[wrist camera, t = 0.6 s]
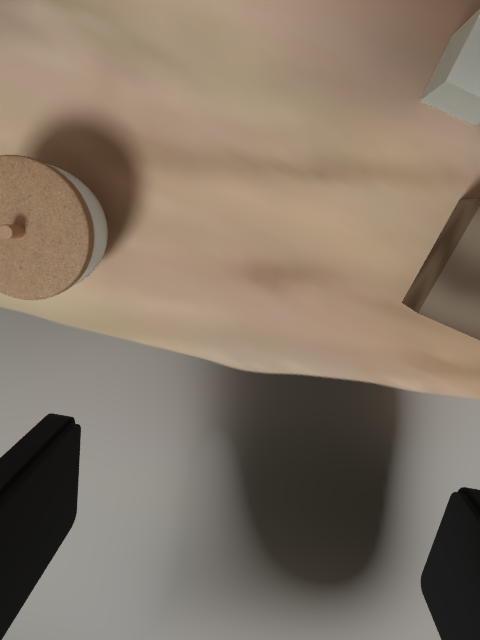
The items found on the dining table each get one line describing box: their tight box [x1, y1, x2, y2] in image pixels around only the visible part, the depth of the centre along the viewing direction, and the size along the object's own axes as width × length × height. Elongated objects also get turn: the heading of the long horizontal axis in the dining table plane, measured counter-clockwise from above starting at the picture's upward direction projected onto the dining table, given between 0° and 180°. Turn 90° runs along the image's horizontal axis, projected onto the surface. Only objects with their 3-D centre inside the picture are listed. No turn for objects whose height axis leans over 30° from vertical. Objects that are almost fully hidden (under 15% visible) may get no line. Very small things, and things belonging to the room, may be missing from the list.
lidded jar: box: [0, 155, 108, 300], centre depth 32 cm, size 11×11×9 cm
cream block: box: [420, 9, 480, 126], centre depth 29 cm, size 5×5×5 cm
